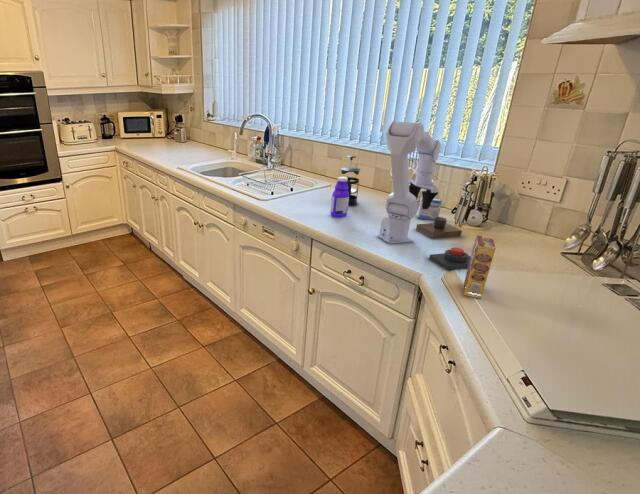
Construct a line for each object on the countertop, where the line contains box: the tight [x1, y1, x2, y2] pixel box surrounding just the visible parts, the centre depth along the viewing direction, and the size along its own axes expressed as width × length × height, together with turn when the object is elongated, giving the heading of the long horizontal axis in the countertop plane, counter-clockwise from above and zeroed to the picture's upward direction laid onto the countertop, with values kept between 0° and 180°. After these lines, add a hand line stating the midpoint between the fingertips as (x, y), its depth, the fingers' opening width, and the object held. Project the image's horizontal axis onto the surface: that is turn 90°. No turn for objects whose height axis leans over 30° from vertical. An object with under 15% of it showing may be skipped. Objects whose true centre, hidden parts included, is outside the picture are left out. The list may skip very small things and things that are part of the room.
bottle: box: [329, 176, 349, 219], centre depth 171 cm, size 7×6×17 cm
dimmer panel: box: [415, 222, 463, 240], centre depth 153 cm, size 12×10×3 cm
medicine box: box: [416, 196, 443, 221], centre depth 169 cm, size 8×4×9 cm, turn 68°
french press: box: [340, 155, 361, 207], centre depth 188 cm, size 12×9×23 cm
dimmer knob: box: [433, 216, 447, 229], centre depth 152 cm, size 4×4×4 cm
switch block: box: [428, 249, 471, 272], centre depth 128 cm, size 12×9×4 cm
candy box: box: [463, 235, 496, 300], centre depth 109 cm, size 9×4×15 cm, turn 151°
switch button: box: [450, 246, 465, 256], centre depth 127 cm, size 4×4×2 cm
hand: (418, 205), depth 155 cm, fingers open, 7 cm apart
